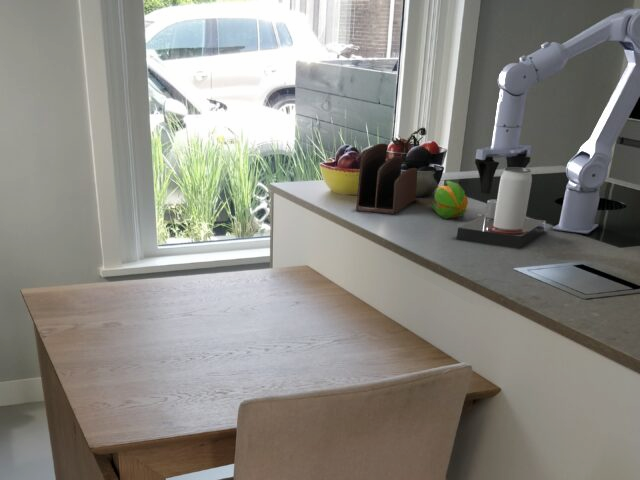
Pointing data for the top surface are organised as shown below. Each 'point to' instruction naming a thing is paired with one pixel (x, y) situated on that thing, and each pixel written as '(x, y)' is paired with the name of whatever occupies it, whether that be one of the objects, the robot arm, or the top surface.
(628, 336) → the top surface
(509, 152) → the robot arm
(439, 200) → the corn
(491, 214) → the knob
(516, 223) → the can
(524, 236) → the hob
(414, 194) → the letter holder
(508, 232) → the burner ring
